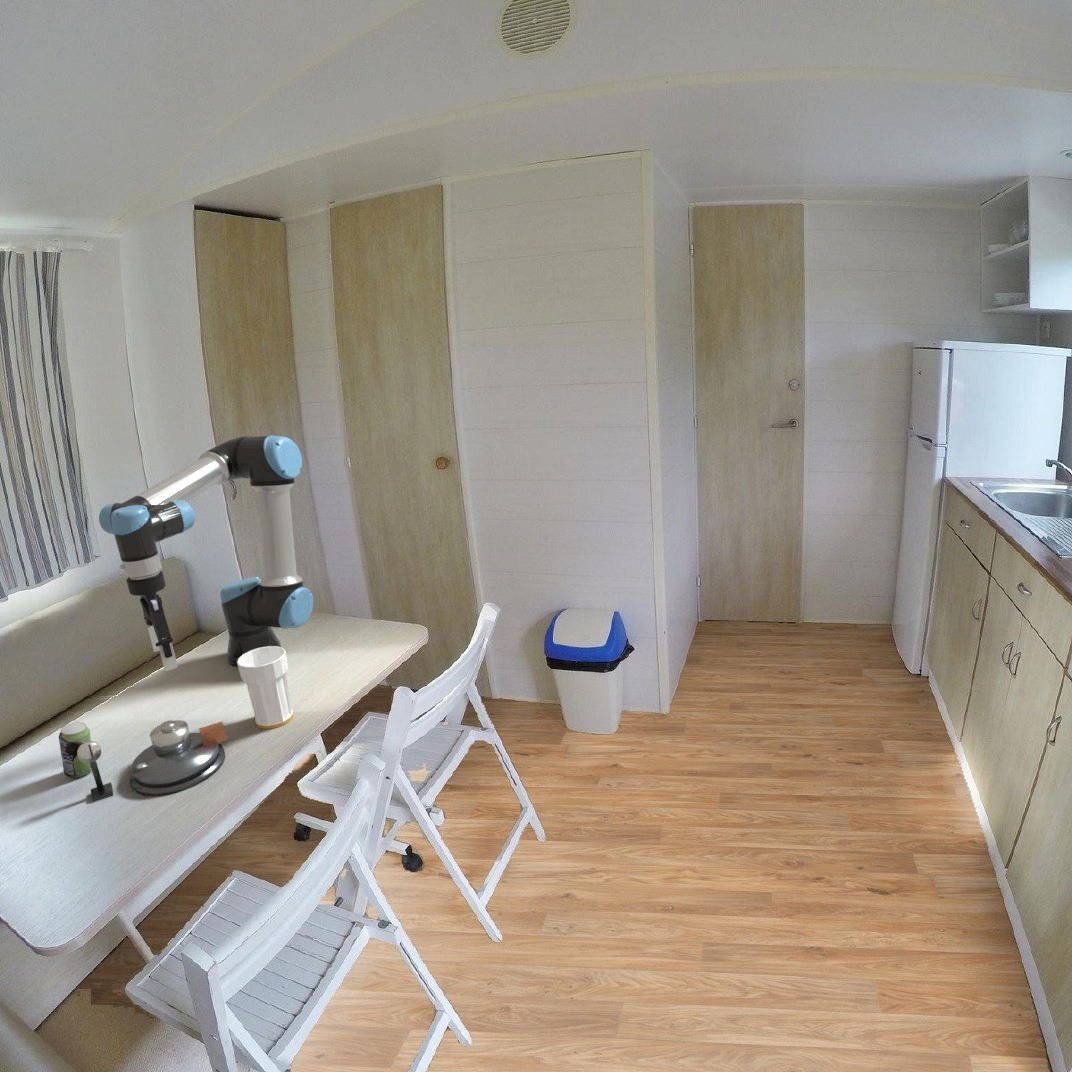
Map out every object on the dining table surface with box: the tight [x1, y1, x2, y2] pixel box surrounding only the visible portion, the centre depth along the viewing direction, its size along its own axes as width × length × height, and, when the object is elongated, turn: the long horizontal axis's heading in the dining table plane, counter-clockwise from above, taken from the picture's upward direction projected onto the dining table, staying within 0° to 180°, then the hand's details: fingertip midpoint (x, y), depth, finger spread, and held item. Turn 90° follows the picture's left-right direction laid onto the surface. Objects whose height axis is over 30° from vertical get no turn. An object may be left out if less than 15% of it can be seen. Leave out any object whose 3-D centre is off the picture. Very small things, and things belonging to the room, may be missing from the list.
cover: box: [149, 720, 191, 755], centre depth 177 cm, size 8×8×6 cm
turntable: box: [131, 720, 228, 788], centre depth 173 cm, size 18×20×6 cm
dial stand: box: [77, 740, 114, 803], centre depth 165 cm, size 4×4×13 cm
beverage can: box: [58, 721, 92, 778], centre depth 174 cm, size 6×7×12 cm
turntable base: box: [128, 742, 226, 797], centre depth 174 cm, size 20×20×1 cm
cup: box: [237, 646, 294, 730], centre depth 189 cm, size 11×11×17 cm
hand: (165, 659), depth 180 cm, fingers open, 13 cm apart
